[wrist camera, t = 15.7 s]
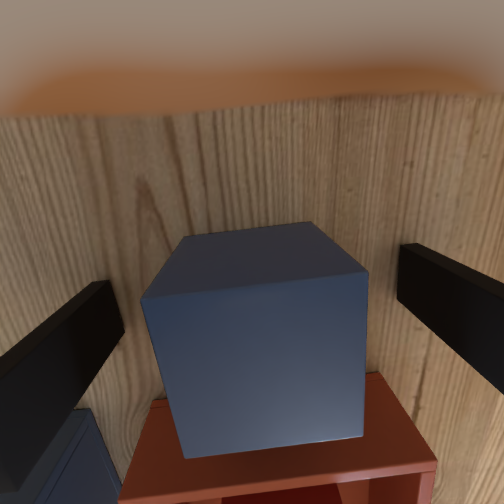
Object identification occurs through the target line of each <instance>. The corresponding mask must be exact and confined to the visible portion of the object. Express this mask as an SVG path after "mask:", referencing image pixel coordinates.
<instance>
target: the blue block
mask: <svg viewBox="0 0 504 504" xmlns="http://www.w3.org/2000/svg"><path fill="white" fill-rule="evenodd" d="M368 276H369V273H368V271H367V270H366V269H365V268H364V267H363V266H361V265H360V264H359V263H358V262H357V261H356V260H355V259H353V258H352V257H351V256H350V255H349V254H348V253H347V252H345V251H344V250H343V249H342V248H341V247H340V246H338V245H337V244H336V243H335V242H334V241H333V240H332V239H330V238H329V237H328V236H327V235H326V234H325V233H324V232H322V231H321V230H320V229H319V228H318V227H317V226H315V225H314V224H313V223H312V222H301V223H293V224H285V225H277V226H268V227H260V228H252V229H243V230H235V231H227V232H219V233H210V234H202V235H194V236H186V237H183V239H182V240H181V242H180V243H179V245H178V246H177V247H176V249H175V250H174V252H173V253H172V255H171V256H170V257H169V259H168V260H167V262H166V263H165V265H164V266H163V267H162V269H161V270H160V272H159V273H158V274H157V276H156V277H155V279H154V280H153V282H152V283H151V284H150V286H149V287H148V289H147V290H146V292H145V293H144V294H143V296H142V297H141V299H140V303H141V306H142V310H143V313H144V317H145V320H146V324H147V327H148V331H149V335H150V338H151V342H152V345H153V349H154V352H155V356H156V359H157V363H158V367H159V370H160V374H161V377H162V381H163V384H164V388H165V392H166V395H167V399H168V402H169V406H170V409H171V413H172V416H173V420H174V424H175V427H176V431H177V434H178V438H179V441H180V445H181V448H182V452H183V456H184V458H185V459H188V458H196V457H204V456H212V455H220V454H228V453H236V452H243V451H251V450H259V449H267V448H275V447H283V446H291V445H299V444H307V443H315V442H322V441H330V440H338V439H346V438H354V437H362V436H363V434H364V402H365V371H366V339H367V307H368Z"/></svg>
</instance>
